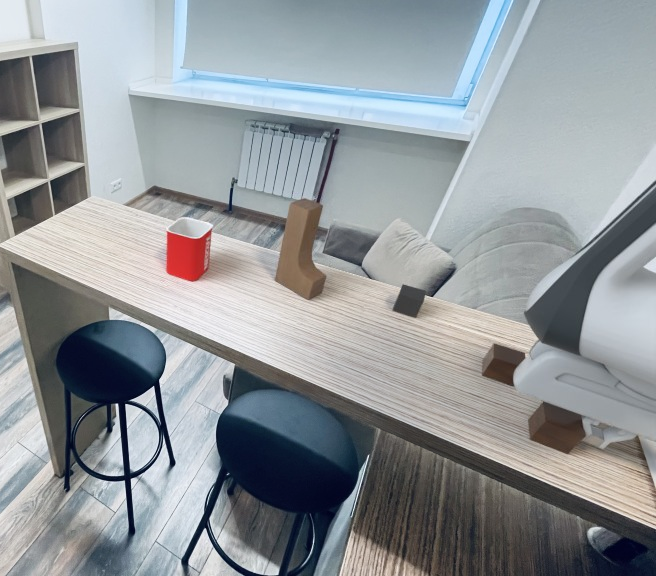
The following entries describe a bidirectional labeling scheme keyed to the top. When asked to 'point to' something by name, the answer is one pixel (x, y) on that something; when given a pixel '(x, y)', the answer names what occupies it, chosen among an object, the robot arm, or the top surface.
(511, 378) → the middle cube
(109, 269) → the top surface
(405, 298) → the cube
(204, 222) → the mug
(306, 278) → the wooden block
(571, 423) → the near cube
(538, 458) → the top surface
